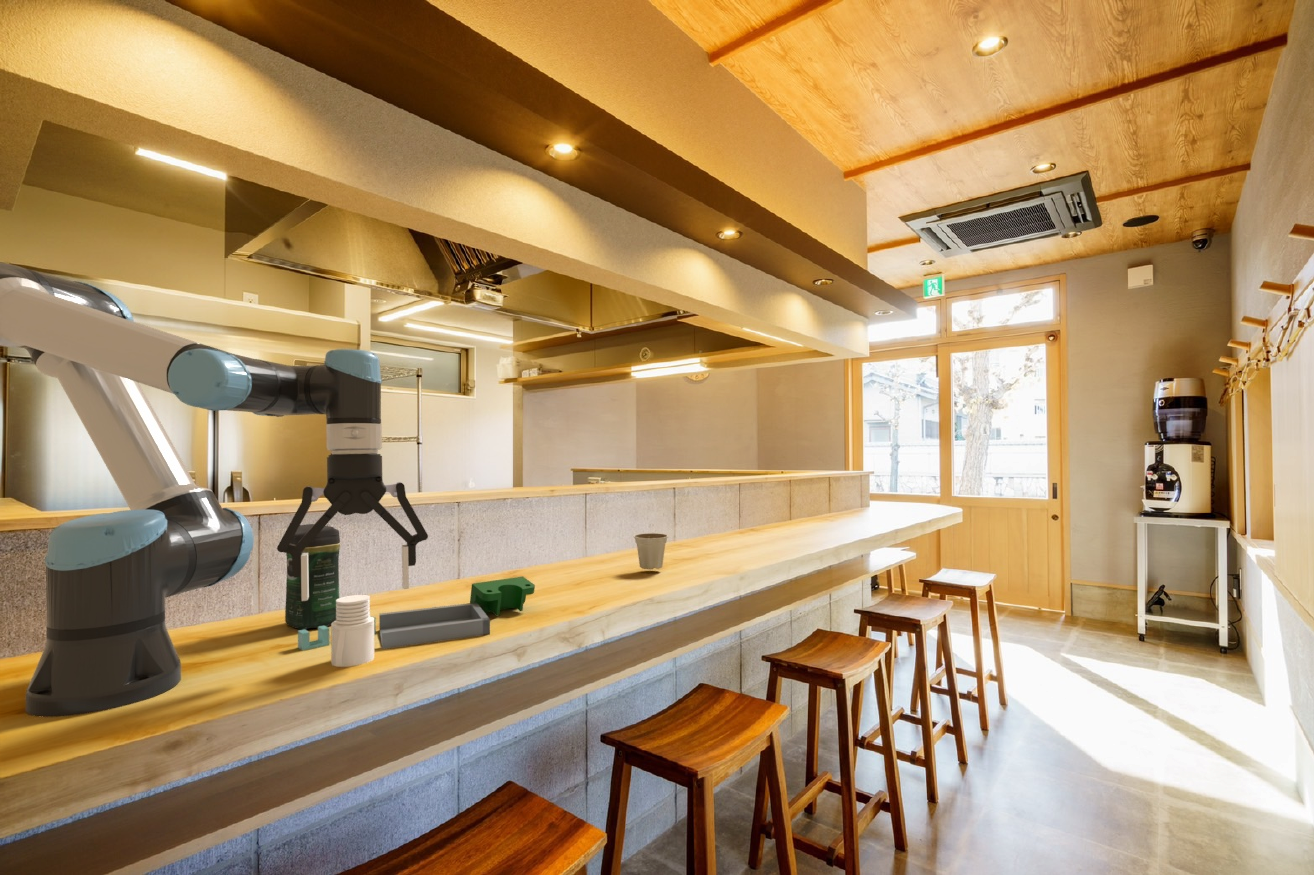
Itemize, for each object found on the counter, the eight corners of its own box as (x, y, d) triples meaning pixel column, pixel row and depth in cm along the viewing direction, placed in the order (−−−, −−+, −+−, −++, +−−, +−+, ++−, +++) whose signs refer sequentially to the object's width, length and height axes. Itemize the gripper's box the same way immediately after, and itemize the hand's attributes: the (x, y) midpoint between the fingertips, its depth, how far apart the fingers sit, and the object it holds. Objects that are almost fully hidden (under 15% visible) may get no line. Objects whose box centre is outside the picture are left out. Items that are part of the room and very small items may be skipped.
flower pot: (668, 571, 160) (668, 538, 161) (632, 571, 161) (632, 538, 161) (668, 564, 170) (668, 533, 170) (634, 564, 170) (634, 533, 170)
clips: (304, 653, 97) (304, 634, 98) (296, 649, 99) (296, 630, 100) (377, 635, 107) (377, 618, 107) (369, 631, 109) (369, 615, 109)
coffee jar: (347, 623, 114) (347, 523, 115) (302, 633, 108) (302, 528, 108) (322, 614, 120) (322, 520, 120) (278, 624, 114) (278, 524, 114)
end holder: (382, 652, 98) (382, 633, 98) (379, 630, 110) (379, 613, 110) (489, 636, 105) (489, 619, 106) (476, 618, 117) (476, 602, 117)
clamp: (490, 638, 117) (476, 599, 114) (476, 625, 122) (463, 588, 118) (543, 605, 124) (532, 568, 121) (528, 594, 128) (517, 558, 125)
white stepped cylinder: (344, 655, 96) (344, 592, 96) (388, 656, 96) (388, 592, 96) (314, 674, 88) (314, 605, 88) (362, 675, 88) (362, 605, 88)
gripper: (253, 454, 84) (255, 610, 83) (444, 450, 95) (446, 587, 94) (261, 454, 90) (262, 598, 90) (438, 450, 102) (440, 578, 101)
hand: (357, 593), depth 92 cm, fingers open, 13 cm apart
